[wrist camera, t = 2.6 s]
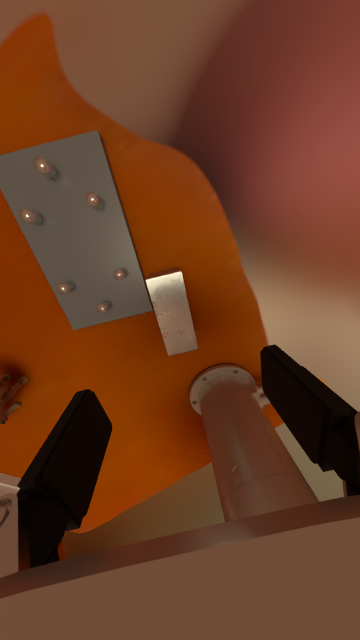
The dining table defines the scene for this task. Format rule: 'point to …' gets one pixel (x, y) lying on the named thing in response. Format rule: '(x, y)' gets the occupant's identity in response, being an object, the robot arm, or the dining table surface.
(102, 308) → the tray pins
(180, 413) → the dining table surface
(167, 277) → the block
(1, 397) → the lion figurine
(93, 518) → the dining table surface
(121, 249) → the tray
